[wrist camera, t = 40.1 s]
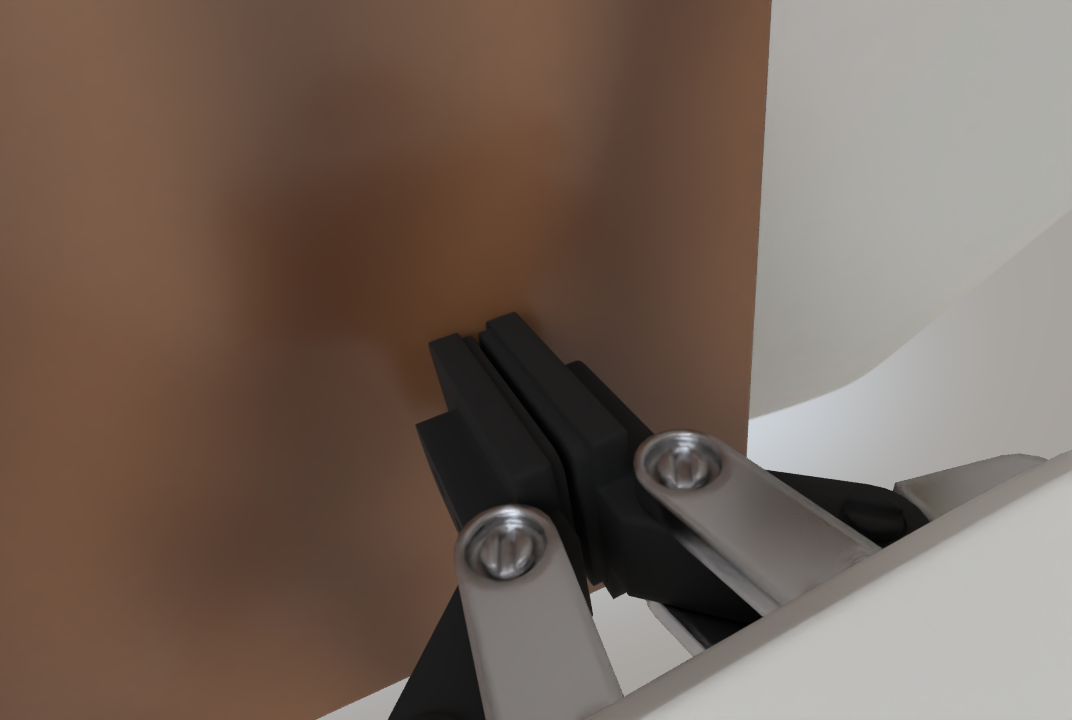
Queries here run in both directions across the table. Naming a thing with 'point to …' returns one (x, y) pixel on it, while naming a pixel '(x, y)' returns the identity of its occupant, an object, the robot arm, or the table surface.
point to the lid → (328, 309)
